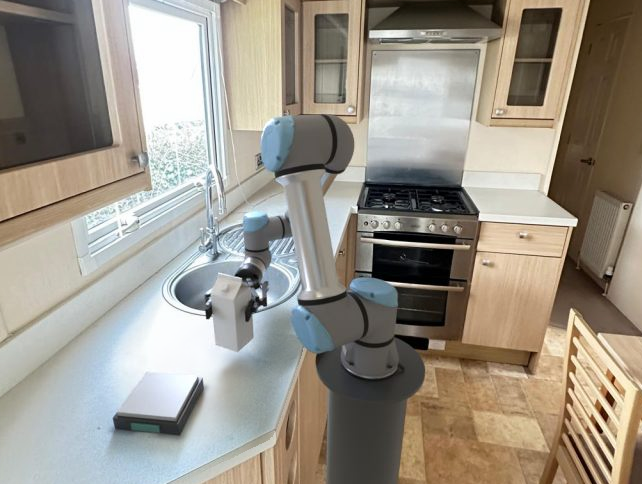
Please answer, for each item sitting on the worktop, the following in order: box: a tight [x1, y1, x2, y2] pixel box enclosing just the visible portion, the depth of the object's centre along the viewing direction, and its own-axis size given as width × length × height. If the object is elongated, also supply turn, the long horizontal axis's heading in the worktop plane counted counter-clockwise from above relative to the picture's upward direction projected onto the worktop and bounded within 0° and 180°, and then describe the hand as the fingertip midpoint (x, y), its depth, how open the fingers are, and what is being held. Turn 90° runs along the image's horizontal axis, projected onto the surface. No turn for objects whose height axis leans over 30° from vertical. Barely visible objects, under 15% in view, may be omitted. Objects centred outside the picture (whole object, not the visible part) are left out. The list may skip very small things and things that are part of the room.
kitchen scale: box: [112, 371, 205, 437], centre depth 89 cm, size 14×14×4 cm
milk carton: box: [211, 272, 255, 353], centre depth 102 cm, size 7×7×19 cm
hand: (226, 315), depth 98 cm, fingers closed on milk carton, 9 cm apart
